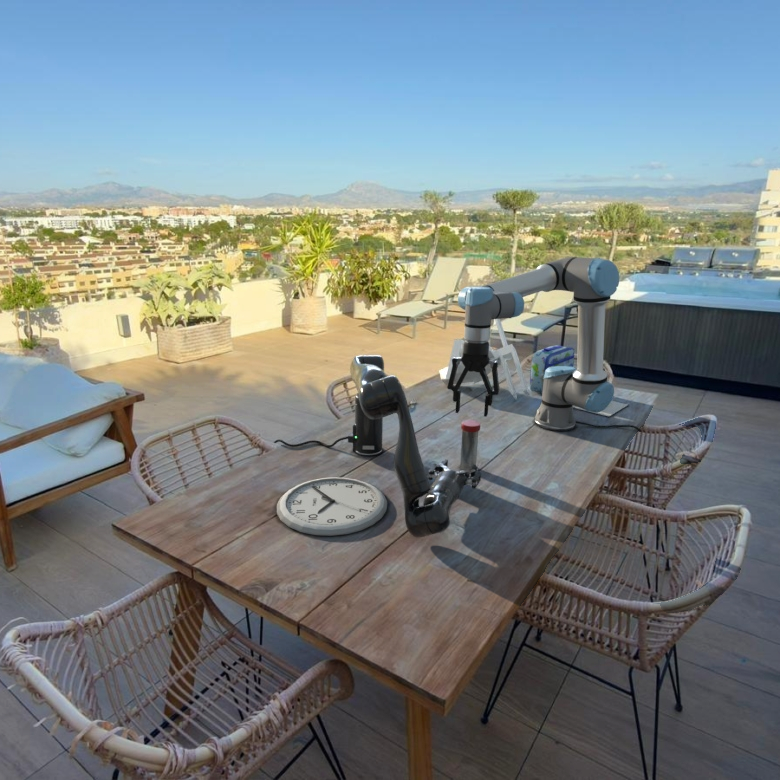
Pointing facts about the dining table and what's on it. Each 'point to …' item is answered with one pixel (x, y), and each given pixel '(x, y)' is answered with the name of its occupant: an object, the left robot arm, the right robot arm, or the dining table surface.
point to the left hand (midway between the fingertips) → (460, 464)
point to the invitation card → (609, 408)
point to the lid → (470, 426)
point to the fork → (412, 401)
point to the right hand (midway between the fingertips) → (471, 413)
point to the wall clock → (331, 506)
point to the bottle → (468, 450)
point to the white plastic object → (494, 355)
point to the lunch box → (548, 363)
